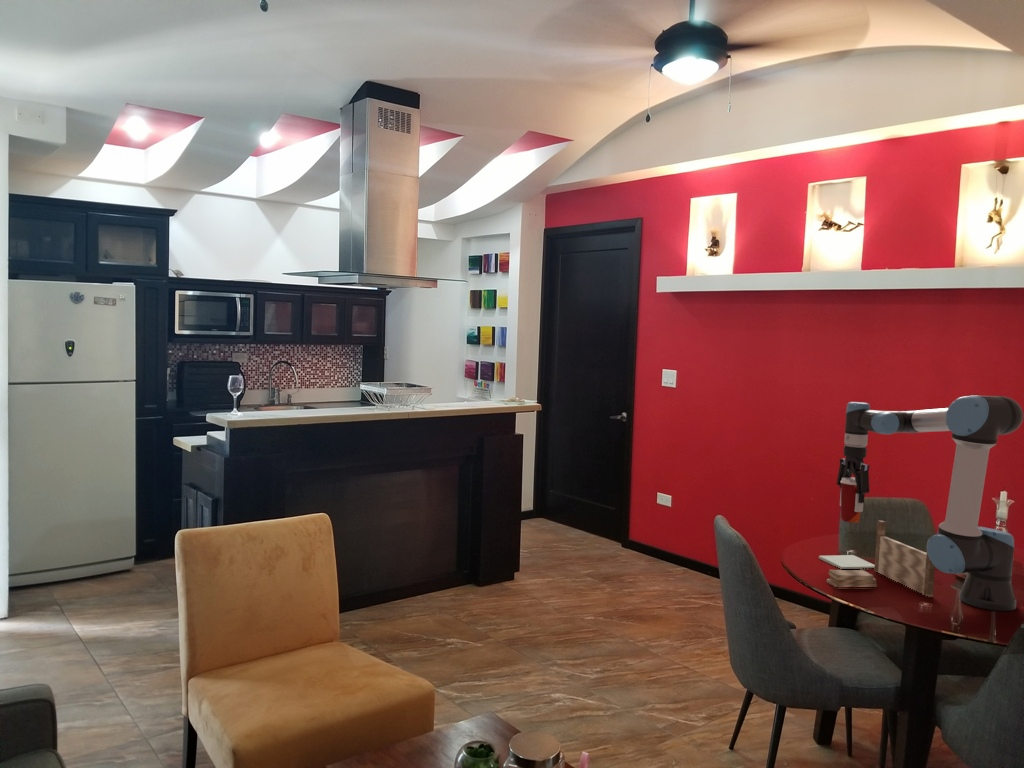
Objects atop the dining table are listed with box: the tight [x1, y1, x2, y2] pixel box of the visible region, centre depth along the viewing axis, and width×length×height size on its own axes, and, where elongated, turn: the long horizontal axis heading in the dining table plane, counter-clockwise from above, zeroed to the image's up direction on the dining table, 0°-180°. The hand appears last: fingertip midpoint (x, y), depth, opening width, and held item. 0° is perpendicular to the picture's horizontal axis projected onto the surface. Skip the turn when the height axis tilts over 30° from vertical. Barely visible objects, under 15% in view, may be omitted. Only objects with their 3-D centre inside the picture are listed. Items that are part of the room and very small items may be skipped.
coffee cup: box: [840, 476, 862, 524], centre depth 282 cm, size 8×8×15 cm
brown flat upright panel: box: [873, 520, 936, 598], centre depth 261 cm, size 26×2×18 cm, turn 11°
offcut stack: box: [826, 569, 878, 588], centre depth 258 cm, size 14×7×4 cm, turn 98°
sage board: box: [818, 554, 875, 570], centre depth 283 cm, size 14×14×1 cm
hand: (851, 508), depth 282 cm, fingers closed on coffee cup, 8 cm apart
